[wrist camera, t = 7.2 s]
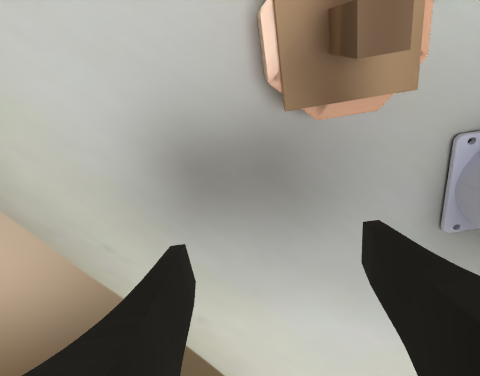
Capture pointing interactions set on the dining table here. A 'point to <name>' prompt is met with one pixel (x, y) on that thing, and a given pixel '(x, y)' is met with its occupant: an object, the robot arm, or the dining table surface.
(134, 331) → the robot arm
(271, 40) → the octagonal copper pot
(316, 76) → the lid
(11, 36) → the dining table surface
